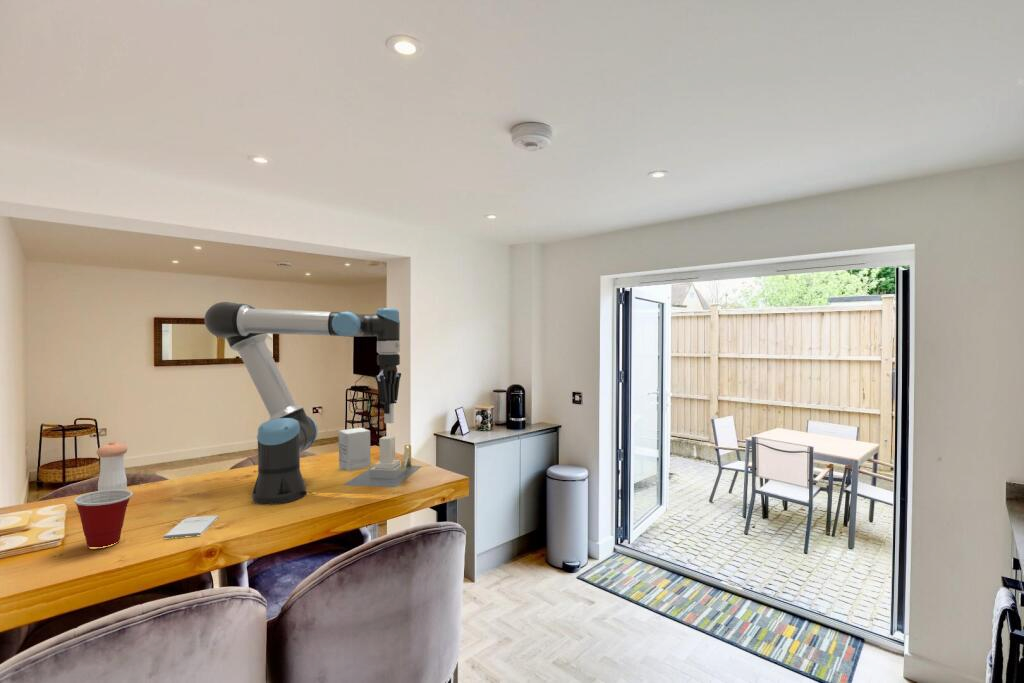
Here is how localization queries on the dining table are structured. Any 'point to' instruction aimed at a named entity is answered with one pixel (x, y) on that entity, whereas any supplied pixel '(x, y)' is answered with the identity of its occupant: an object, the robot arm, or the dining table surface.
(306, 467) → the dining table surface
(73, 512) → the dining table surface
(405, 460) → the clip
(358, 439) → the supplement box
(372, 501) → the dining table surface
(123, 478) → the pepper shaker
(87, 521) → the plastic cup
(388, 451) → the plug
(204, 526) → the external hard drive
